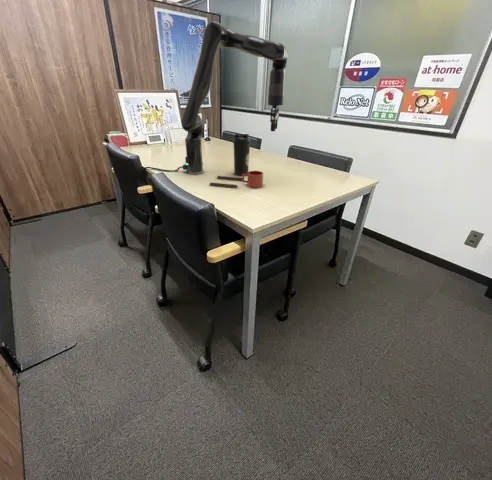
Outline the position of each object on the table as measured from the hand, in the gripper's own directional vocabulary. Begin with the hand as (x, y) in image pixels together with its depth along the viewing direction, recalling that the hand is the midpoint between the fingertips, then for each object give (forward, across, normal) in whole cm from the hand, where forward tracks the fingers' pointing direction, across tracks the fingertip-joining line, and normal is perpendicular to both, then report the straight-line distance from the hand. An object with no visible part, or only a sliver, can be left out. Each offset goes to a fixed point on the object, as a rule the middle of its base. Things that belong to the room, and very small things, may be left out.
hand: (273, 130), depth 137 cm
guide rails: (+27, +9, -23) cm, 37 cm away
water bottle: (+27, -10, -19) cm, 35 cm away
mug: (+27, +10, -9) cm, 30 cm away
